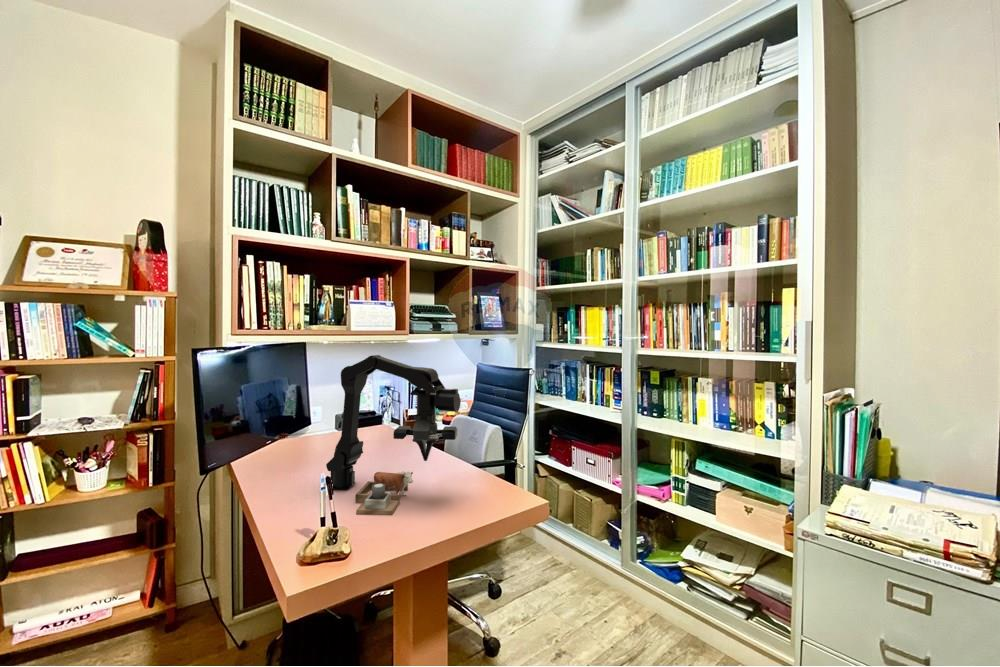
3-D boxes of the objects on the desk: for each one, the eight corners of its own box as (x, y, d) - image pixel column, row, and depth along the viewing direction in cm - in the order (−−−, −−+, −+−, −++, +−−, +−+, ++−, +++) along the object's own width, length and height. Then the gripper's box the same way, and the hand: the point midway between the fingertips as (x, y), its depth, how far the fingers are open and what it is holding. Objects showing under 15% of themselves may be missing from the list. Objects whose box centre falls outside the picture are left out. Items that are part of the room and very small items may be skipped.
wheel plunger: (370, 498, 115) (370, 487, 115) (374, 493, 119) (374, 482, 119) (382, 499, 115) (382, 487, 115) (386, 493, 118) (386, 483, 118)
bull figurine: (410, 501, 122) (411, 474, 122) (370, 496, 126) (371, 470, 126) (417, 496, 127) (417, 469, 126) (378, 491, 130) (379, 465, 130)
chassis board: (345, 514, 113) (345, 500, 113) (367, 489, 131) (367, 477, 131) (392, 515, 113) (392, 501, 113) (407, 490, 131) (407, 478, 131)
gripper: (388, 414, 117) (387, 468, 118) (453, 415, 117) (452, 470, 117) (398, 407, 129) (398, 457, 129) (457, 408, 128) (457, 457, 128)
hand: (425, 460), depth 125 cm, fingers closed
